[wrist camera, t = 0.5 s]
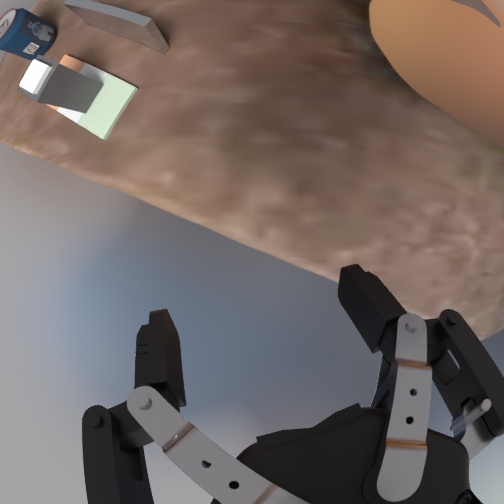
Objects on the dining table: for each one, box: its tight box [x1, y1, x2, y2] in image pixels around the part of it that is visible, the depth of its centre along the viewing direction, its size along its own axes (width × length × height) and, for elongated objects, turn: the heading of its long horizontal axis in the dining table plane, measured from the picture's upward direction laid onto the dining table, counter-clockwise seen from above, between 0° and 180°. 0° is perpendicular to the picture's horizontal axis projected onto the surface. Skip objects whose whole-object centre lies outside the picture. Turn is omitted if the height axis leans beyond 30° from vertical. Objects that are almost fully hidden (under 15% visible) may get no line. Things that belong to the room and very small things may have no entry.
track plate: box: [47, 54, 138, 140], centre depth 27 cm, size 16×8×1 cm, turn 55°
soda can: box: [0, 8, 55, 60], centre depth 17 cm, size 7×7×12 cm
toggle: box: [18, 55, 103, 114], centre depth 21 cm, size 4×4×12 cm
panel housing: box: [63, 0, 169, 54], centre depth 21 cm, size 16×1×9 cm, turn 55°
